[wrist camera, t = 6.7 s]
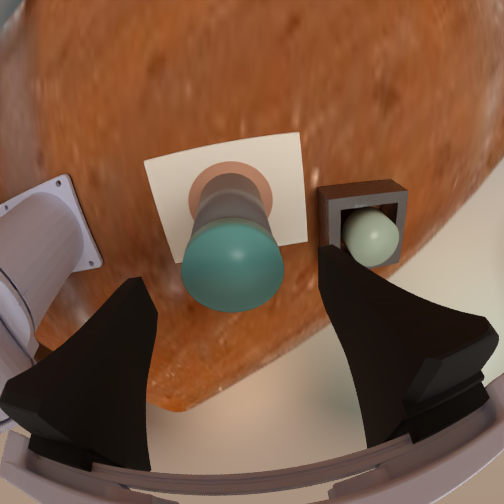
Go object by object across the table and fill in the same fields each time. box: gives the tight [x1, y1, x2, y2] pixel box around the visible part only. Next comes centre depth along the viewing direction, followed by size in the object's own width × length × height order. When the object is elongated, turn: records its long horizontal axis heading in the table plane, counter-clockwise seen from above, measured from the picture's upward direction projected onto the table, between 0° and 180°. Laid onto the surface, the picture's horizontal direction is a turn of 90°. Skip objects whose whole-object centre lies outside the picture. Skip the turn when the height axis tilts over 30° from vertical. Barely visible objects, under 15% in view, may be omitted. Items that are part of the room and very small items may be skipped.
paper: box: [144, 132, 308, 264], centre depth 18 cm, size 10×8×1 cm
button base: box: [317, 179, 408, 269], centre depth 19 cm, size 6×6×2 cm
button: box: [342, 206, 399, 266], centre depth 18 cm, size 4×4×2 cm
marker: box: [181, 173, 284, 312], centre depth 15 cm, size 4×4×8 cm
